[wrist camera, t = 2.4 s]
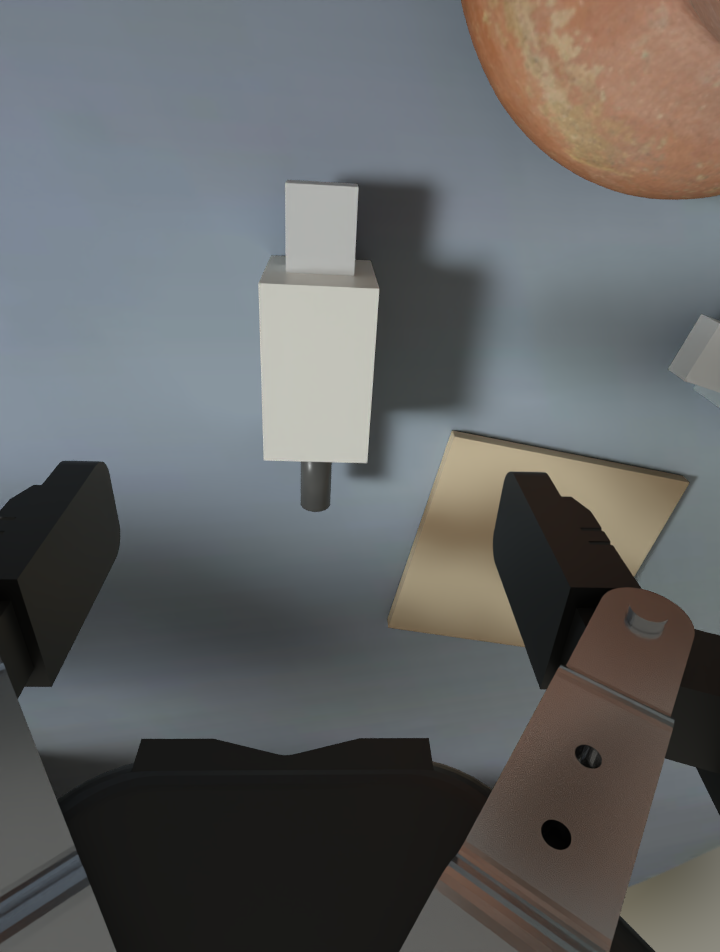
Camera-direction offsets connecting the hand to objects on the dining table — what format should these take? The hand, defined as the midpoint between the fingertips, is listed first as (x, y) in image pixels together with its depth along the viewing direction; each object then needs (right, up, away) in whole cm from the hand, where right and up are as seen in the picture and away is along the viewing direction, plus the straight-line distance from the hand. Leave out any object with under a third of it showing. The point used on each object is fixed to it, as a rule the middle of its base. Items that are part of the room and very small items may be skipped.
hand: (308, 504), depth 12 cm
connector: (-1, +6, +11) cm, 13 cm away
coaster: (+9, -3, +17) cm, 19 cm away
